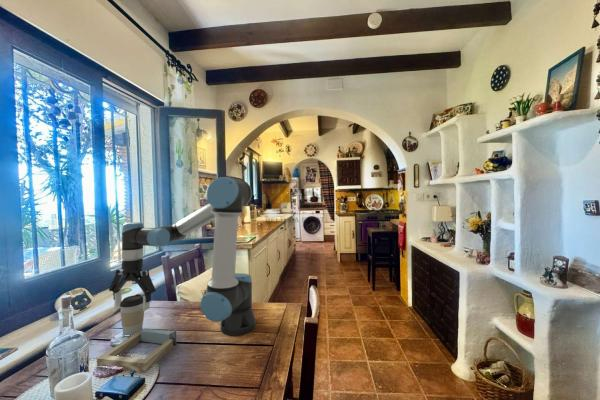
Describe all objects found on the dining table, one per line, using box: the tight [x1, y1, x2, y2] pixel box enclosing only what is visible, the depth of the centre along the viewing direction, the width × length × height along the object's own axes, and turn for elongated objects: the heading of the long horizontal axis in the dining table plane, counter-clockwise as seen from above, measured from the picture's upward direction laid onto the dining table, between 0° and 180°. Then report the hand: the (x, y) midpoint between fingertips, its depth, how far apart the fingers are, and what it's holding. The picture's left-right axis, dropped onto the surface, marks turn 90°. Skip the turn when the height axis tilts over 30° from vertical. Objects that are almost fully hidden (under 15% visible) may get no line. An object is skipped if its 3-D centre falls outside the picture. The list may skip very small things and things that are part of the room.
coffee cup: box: [119, 293, 145, 335], centre depth 107 cm, size 9×9×15 cm
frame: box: [96, 332, 174, 373], centre depth 91 cm, size 18×17×3 cm
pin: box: [171, 330, 177, 347], centre depth 97 cm, size 2×2×5 cm
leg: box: [140, 328, 172, 345], centre depth 99 cm, size 13×2×4 cm, turn 77°
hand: (132, 308), depth 107 cm, fingers open, 13 cm apart
